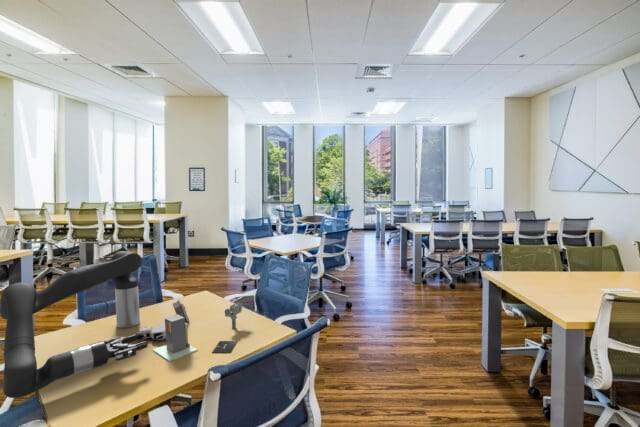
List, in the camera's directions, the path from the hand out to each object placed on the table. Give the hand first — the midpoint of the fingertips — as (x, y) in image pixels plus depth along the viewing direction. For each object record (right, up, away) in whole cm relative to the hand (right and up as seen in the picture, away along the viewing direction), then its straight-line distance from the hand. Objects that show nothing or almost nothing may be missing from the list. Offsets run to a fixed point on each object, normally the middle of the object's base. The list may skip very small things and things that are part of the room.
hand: (141, 340), depth 122 cm
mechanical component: (+25, -6, +30) cm, 40 cm away
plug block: (+8, -7, +10) cm, 14 cm away
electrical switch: (-2, -6, +41) cm, 41 cm away
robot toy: (-6, -7, +22) cm, 23 cm away
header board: (+8, -7, +9) cm, 14 cm away
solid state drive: (+26, -8, +12) cm, 29 cm away
